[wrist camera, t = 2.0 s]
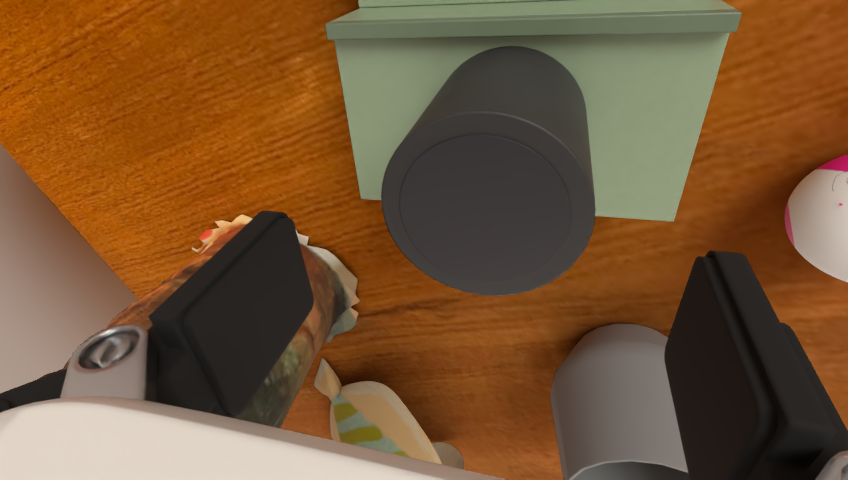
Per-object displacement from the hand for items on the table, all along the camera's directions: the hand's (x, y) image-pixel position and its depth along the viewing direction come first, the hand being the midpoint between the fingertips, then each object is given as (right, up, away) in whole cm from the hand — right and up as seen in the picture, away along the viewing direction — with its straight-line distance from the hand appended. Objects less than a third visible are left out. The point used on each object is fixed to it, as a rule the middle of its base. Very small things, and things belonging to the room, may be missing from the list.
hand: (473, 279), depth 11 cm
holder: (+2, +6, +7) cm, 10 cm away
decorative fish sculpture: (-3, -15, +31) cm, 35 cm away
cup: (+13, -7, +20) cm, 25 cm away
